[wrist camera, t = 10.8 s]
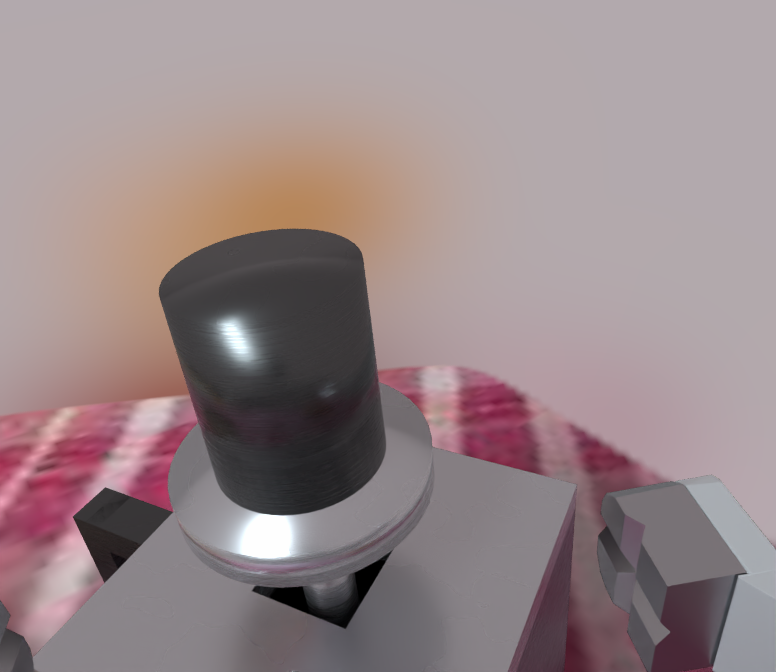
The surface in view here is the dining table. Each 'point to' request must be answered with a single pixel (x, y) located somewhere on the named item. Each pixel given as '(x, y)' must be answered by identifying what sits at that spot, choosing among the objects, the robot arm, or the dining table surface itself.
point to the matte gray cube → (374, 584)
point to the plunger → (290, 419)
